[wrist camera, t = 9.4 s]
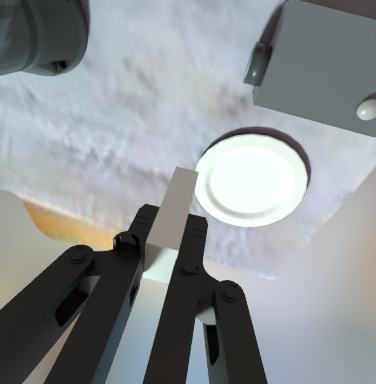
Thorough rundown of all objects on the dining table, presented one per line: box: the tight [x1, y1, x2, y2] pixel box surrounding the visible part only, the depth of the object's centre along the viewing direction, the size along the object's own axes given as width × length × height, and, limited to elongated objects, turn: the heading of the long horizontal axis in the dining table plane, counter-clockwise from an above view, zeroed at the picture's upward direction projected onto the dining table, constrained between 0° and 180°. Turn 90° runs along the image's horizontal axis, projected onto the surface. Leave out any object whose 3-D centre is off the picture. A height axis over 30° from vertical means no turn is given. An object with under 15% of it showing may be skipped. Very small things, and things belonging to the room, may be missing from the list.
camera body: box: [243, 0, 376, 137], centre depth 30 cm, size 18×11×8 cm, turn 78°
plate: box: [195, 133, 308, 227], centre depth 46 cm, size 21×21×2 cm
